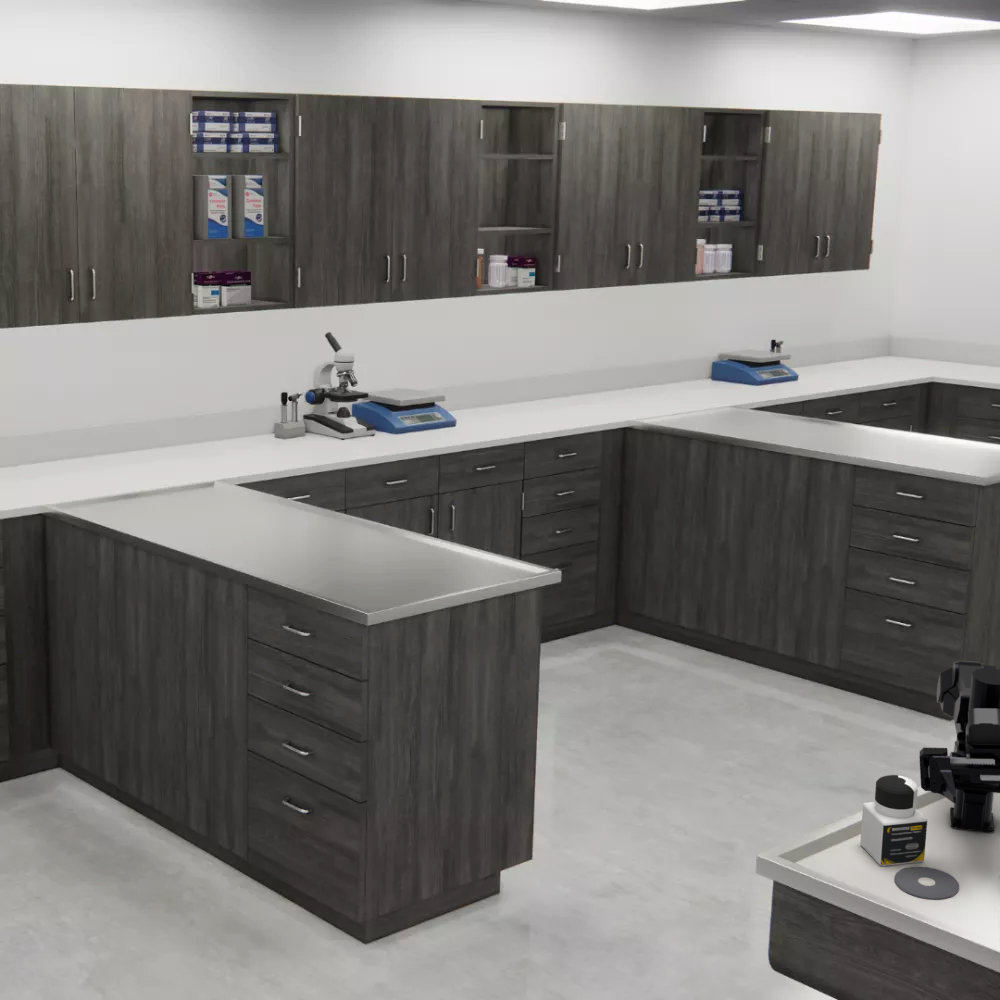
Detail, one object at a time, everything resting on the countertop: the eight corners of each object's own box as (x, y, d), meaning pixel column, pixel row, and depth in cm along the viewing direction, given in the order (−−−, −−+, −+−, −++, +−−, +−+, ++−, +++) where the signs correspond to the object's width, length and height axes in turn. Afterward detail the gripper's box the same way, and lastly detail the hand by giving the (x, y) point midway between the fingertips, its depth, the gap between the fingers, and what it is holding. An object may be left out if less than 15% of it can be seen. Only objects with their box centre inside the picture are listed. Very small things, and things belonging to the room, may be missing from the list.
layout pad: (894, 864, 214) (895, 862, 214) (958, 872, 212) (958, 870, 212) (893, 894, 206) (894, 892, 206) (959, 903, 204) (960, 901, 204)
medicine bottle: (880, 867, 214) (886, 793, 211) (859, 844, 221) (864, 772, 218) (924, 862, 215) (930, 788, 212) (902, 840, 222) (907, 768, 219)
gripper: (918, 696, 215) (916, 748, 201) (1052, 697, 209) (1060, 751, 195) (921, 762, 218) (920, 818, 204) (1053, 764, 213) (1061, 822, 199)
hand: (989, 801), depth 200 cm, fingers open, 9 cm apart
